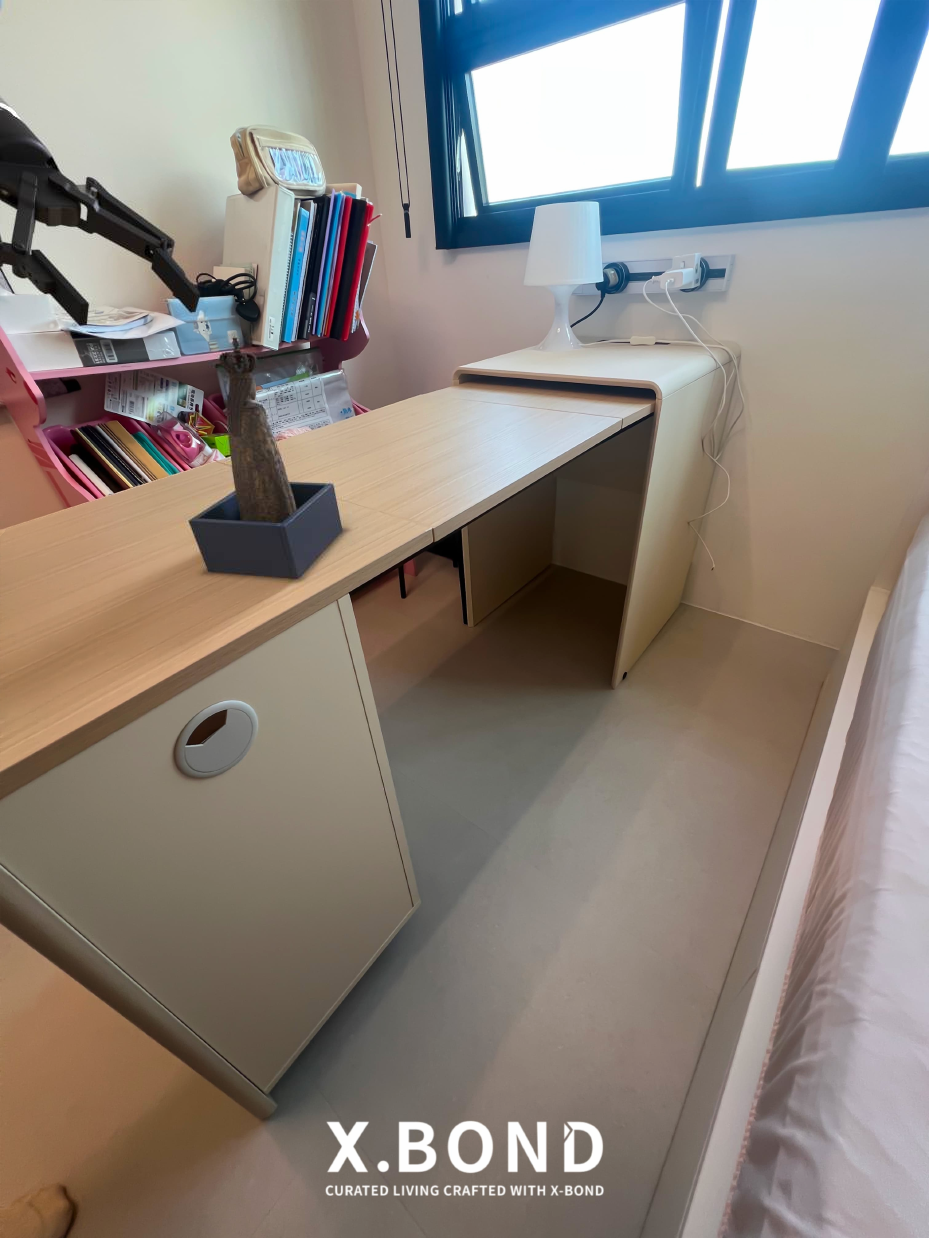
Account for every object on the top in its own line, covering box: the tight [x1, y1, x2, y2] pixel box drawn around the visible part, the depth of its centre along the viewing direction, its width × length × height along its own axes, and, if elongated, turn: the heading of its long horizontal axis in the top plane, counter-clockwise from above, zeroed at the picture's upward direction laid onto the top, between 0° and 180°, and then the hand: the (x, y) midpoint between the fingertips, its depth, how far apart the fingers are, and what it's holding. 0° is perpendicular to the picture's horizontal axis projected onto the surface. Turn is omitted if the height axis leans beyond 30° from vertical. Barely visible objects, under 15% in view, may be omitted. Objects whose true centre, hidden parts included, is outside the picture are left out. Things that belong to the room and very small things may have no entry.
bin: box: [188, 481, 344, 580], centre depth 66 cm, size 13×14×7 cm
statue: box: [218, 337, 297, 523], centre depth 61 cm, size 9×8×25 cm
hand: (145, 309), depth 56 cm, fingers open, 13 cm apart
